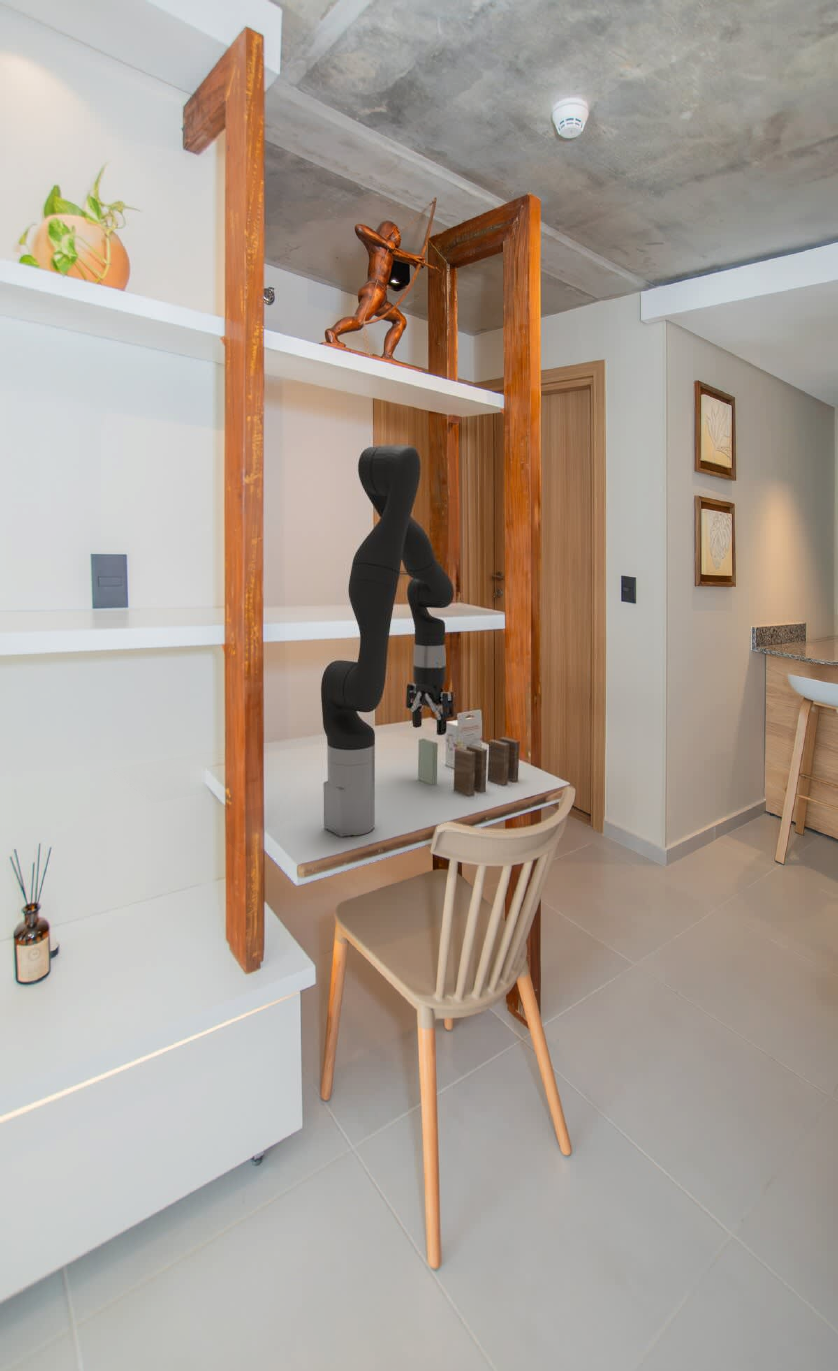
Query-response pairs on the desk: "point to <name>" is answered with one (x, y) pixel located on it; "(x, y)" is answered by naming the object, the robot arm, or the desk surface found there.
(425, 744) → the gap domino
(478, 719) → the ink cartridge box
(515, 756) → the domino
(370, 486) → the robot arm
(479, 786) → the domino
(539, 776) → the desk surface
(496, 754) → the domino
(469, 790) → the domino
